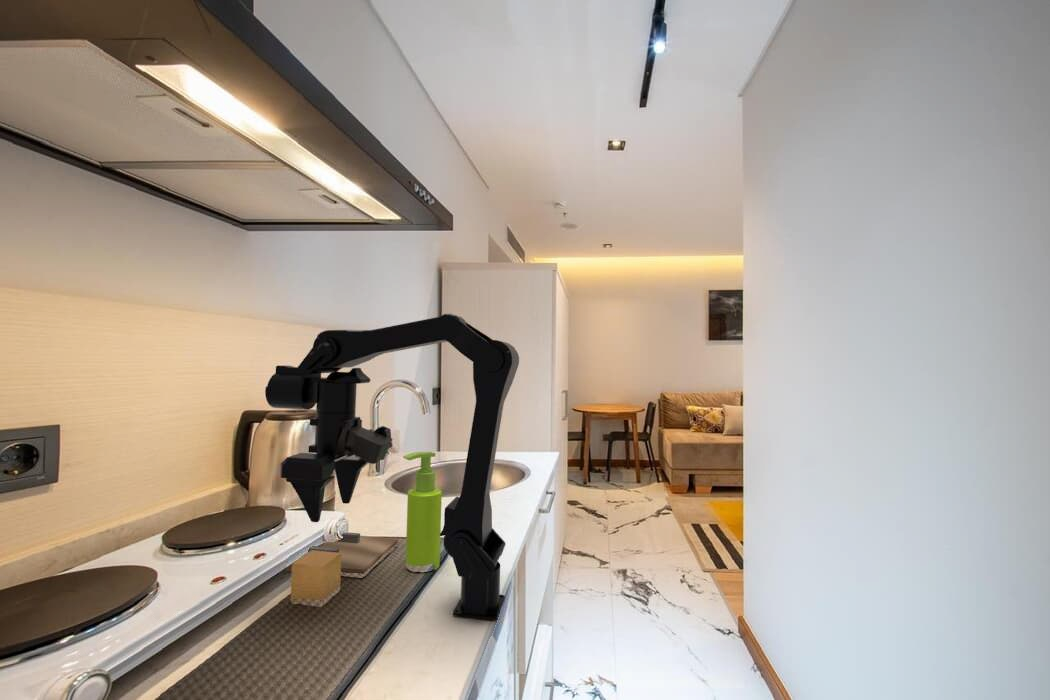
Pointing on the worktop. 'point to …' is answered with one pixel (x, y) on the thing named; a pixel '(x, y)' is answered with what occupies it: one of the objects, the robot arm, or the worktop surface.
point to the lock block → (315, 575)
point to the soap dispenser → (423, 515)
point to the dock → (356, 551)
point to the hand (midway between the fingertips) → (331, 511)
